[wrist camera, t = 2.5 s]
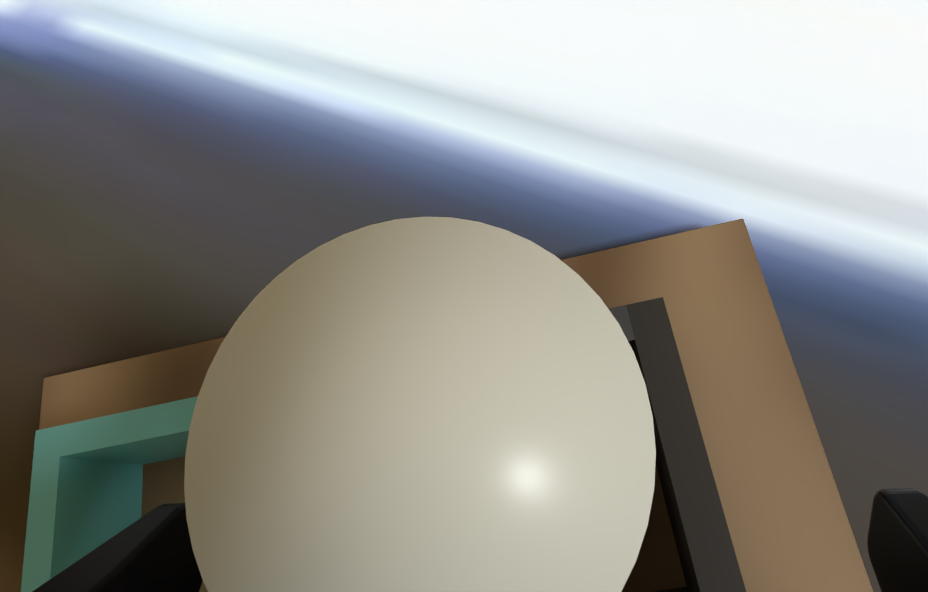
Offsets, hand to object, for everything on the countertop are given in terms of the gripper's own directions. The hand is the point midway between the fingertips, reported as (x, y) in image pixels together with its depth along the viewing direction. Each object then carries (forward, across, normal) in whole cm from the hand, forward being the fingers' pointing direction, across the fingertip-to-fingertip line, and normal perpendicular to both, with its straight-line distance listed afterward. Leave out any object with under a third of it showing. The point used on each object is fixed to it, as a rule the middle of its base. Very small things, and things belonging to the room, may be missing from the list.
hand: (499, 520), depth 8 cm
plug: (+6, 0, +5) cm, 8 cm away
